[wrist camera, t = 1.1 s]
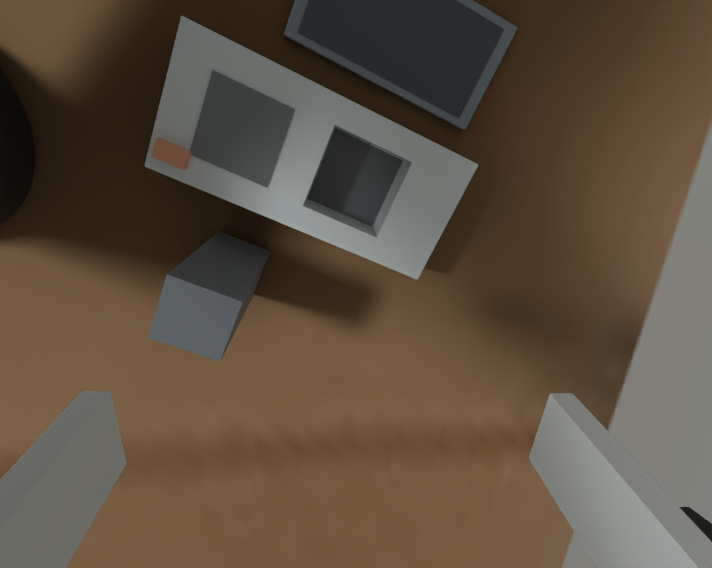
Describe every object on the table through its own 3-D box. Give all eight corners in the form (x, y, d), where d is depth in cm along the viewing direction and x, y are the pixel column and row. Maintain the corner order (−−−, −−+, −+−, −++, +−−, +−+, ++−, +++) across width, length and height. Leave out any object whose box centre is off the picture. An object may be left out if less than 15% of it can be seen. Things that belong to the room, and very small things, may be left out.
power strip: (166, 162, 27) (139, 167, 24) (201, 31, 25) (177, 12, 21) (408, 264, 31) (419, 282, 28) (462, 161, 29) (481, 165, 25)
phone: (460, 130, 28) (465, 130, 27) (285, 37, 26) (283, 34, 25) (511, 31, 26) (518, 27, 25) (325, -81, 23) (324, -91, 22)
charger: (203, 277, 31) (148, 338, 22) (219, 230, 30) (166, 274, 20) (253, 295, 32) (220, 361, 22) (270, 251, 30) (242, 301, 21)
